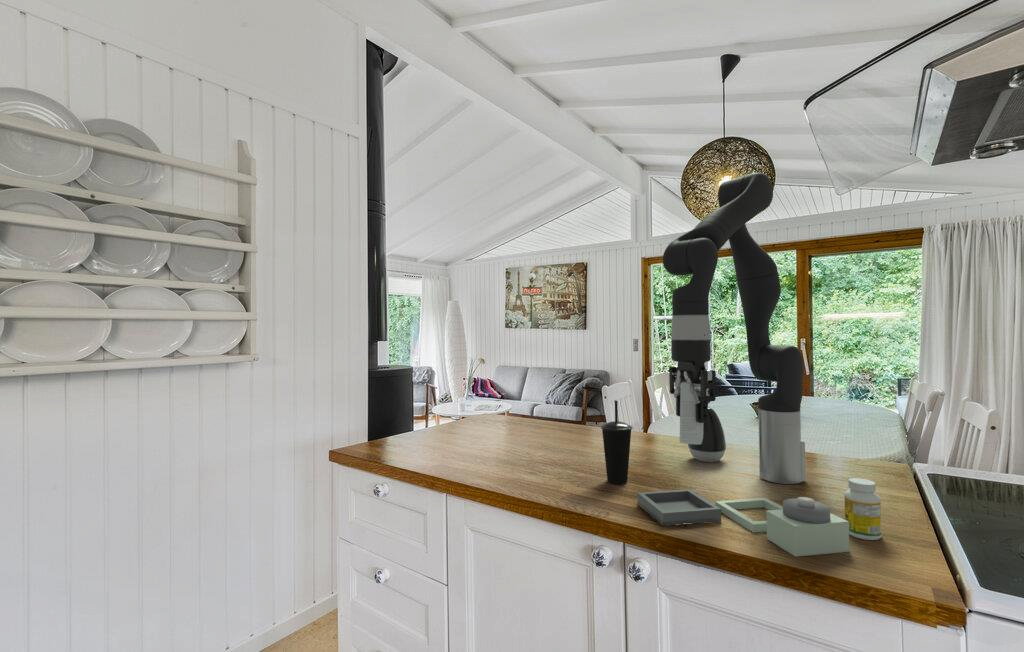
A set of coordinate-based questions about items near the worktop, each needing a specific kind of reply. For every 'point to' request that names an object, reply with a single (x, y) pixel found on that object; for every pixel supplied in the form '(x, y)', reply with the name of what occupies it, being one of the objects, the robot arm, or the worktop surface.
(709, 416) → the pump dispenser
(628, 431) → the drinking cup
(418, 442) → the worktop surface
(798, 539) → the soap dish box
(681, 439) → the skincare box
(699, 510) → the tray
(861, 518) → the supplement bottle
